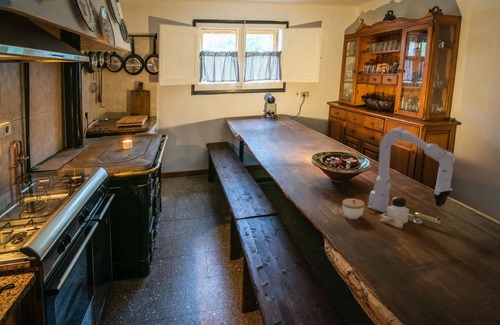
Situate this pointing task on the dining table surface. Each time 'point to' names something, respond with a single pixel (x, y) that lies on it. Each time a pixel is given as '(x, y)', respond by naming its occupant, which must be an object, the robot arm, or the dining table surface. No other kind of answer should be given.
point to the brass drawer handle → (428, 217)
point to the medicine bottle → (398, 210)
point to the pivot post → (417, 221)
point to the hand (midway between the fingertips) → (440, 204)
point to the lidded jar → (353, 208)
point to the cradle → (394, 220)
